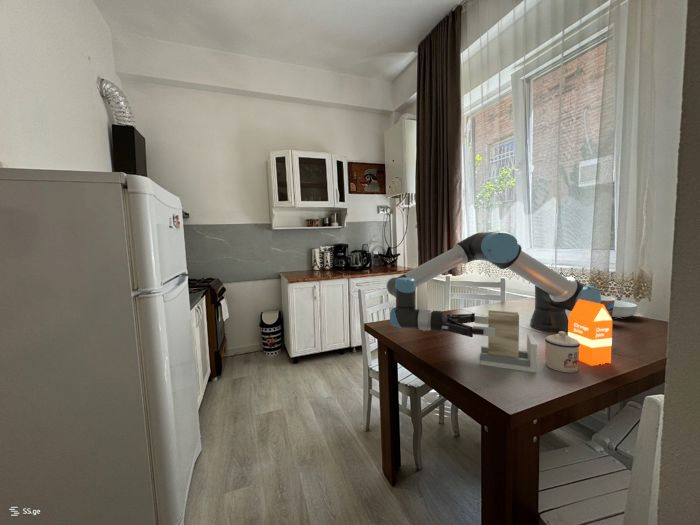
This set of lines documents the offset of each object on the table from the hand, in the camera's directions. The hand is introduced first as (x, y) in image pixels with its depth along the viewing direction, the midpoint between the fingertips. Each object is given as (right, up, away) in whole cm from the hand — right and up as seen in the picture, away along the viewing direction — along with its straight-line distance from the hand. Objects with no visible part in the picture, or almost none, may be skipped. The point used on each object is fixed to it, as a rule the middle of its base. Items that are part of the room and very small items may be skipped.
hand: (494, 326), depth 100 cm
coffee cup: (+69, -7, +39) cm, 80 cm away
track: (+4, -12, 0) cm, 13 cm away
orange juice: (+32, -11, 0) cm, 34 cm away
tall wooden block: (+3, -11, 0) cm, 12 cm away
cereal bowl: (+84, -6, +48) cm, 96 cm away
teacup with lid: (+20, -12, -5) cm, 24 cm away
